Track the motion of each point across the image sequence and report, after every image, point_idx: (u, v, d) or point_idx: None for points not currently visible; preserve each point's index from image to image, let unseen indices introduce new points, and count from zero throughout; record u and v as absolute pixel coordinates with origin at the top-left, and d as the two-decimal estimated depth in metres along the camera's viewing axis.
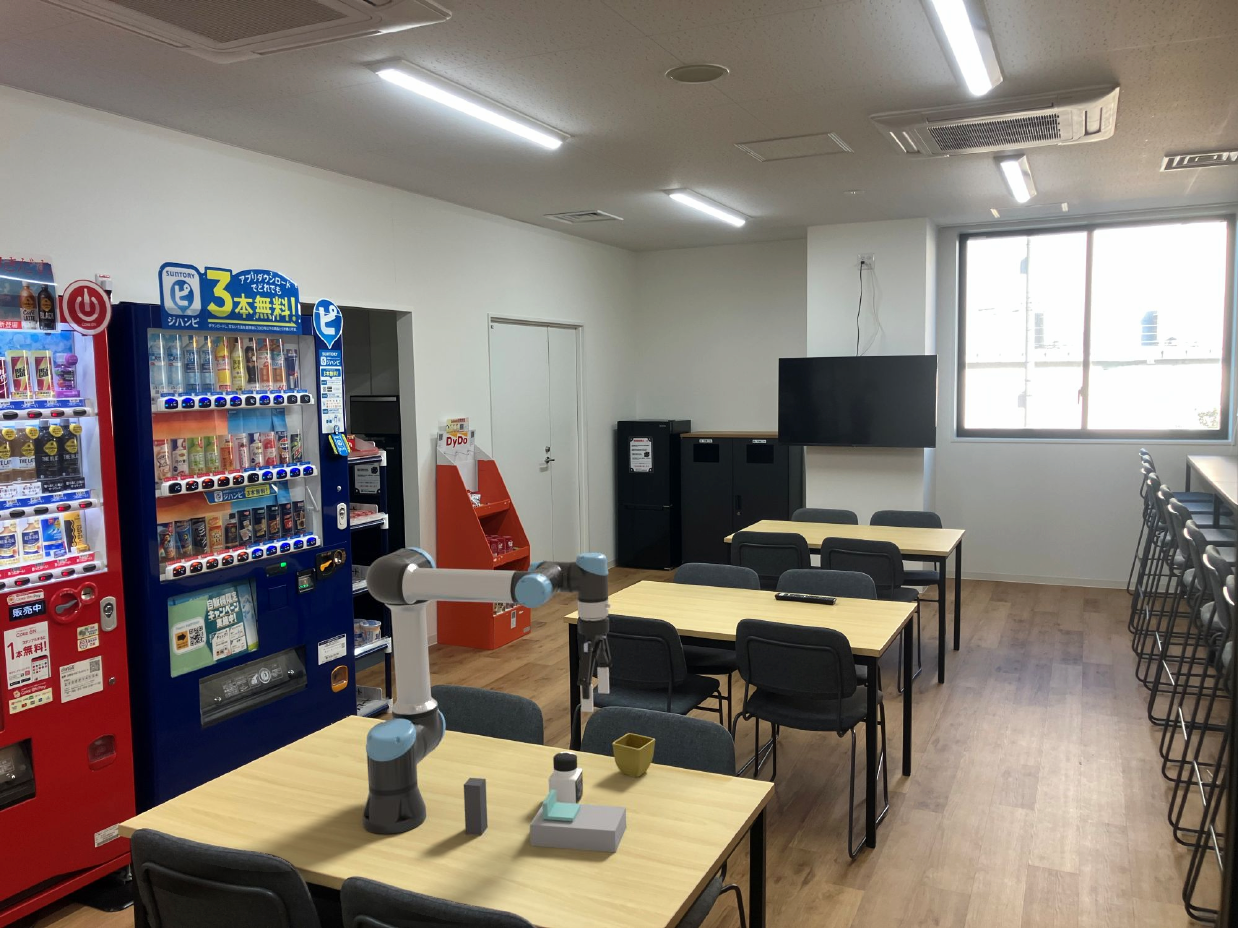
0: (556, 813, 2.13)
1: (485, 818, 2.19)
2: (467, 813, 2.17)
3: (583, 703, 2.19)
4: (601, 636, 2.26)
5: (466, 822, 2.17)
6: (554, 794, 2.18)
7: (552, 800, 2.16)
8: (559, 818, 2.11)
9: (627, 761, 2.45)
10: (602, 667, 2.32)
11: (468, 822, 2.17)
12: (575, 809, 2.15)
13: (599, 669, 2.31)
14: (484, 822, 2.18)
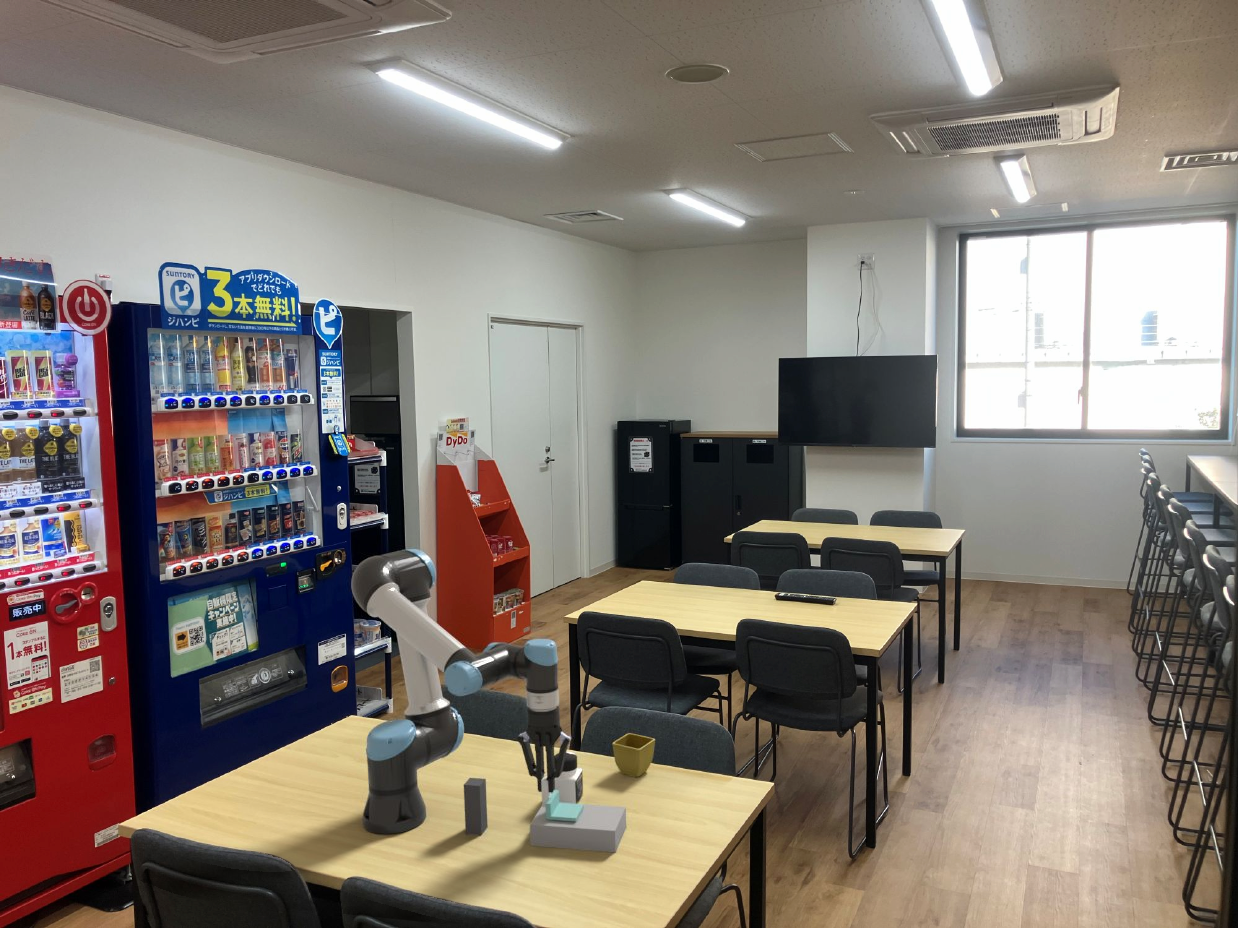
0: (559, 813, 2.13)
1: (485, 818, 2.19)
2: (467, 813, 2.17)
3: None
4: (554, 731, 2.12)
5: (466, 822, 2.17)
6: (557, 794, 2.17)
7: (555, 800, 2.16)
8: (562, 818, 2.11)
9: (627, 761, 2.45)
10: None
11: (468, 822, 2.17)
12: (578, 809, 2.15)
13: None
14: (484, 822, 2.18)
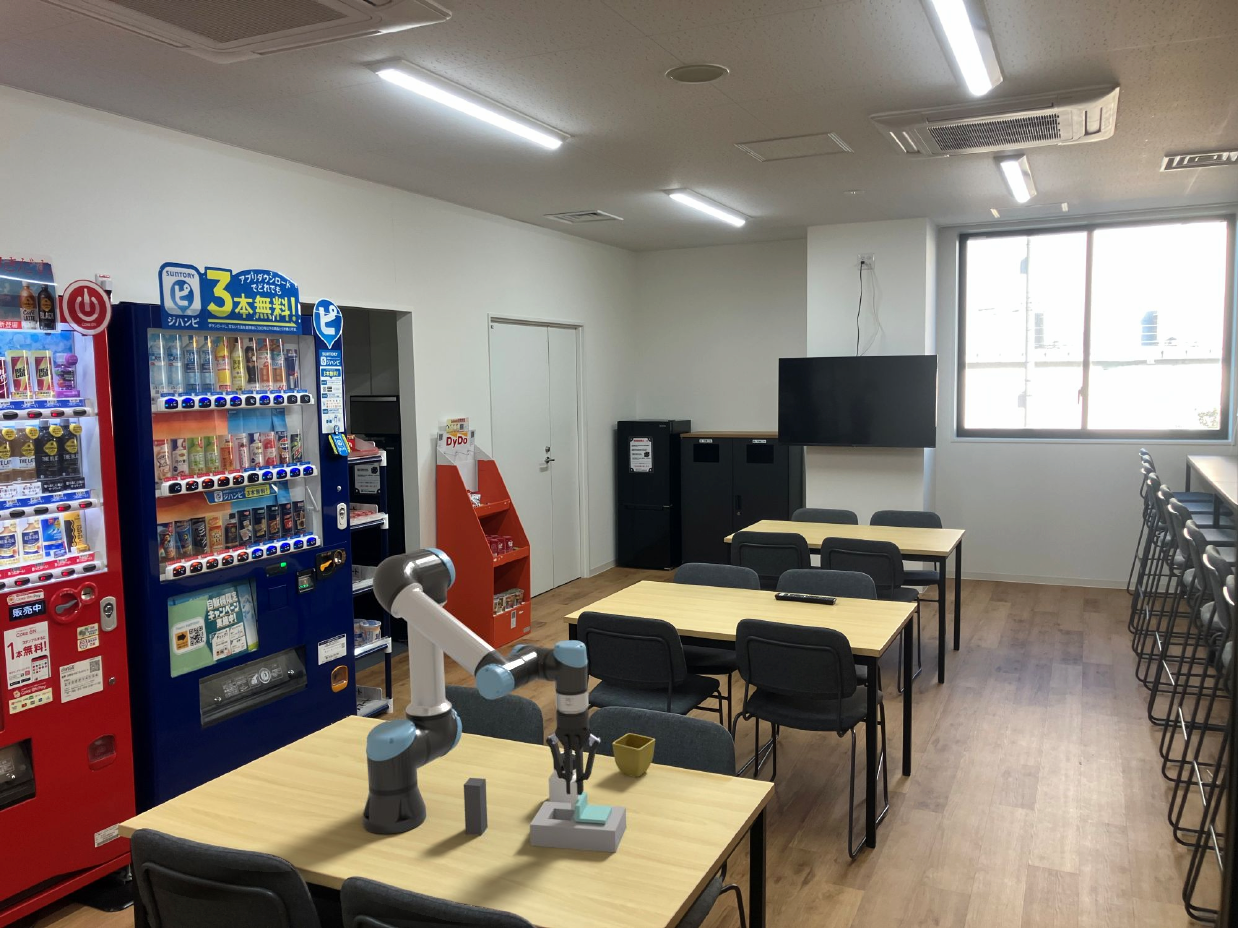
0: (588, 815, 2.12)
1: (485, 818, 2.19)
2: (467, 813, 2.17)
3: None
4: (583, 733, 2.11)
5: (466, 822, 2.17)
6: (585, 796, 2.16)
7: (584, 802, 2.14)
8: (591, 820, 2.10)
9: (627, 761, 2.45)
10: (576, 779, 2.14)
11: (468, 822, 2.17)
12: (607, 811, 2.13)
13: None
14: (484, 822, 2.18)
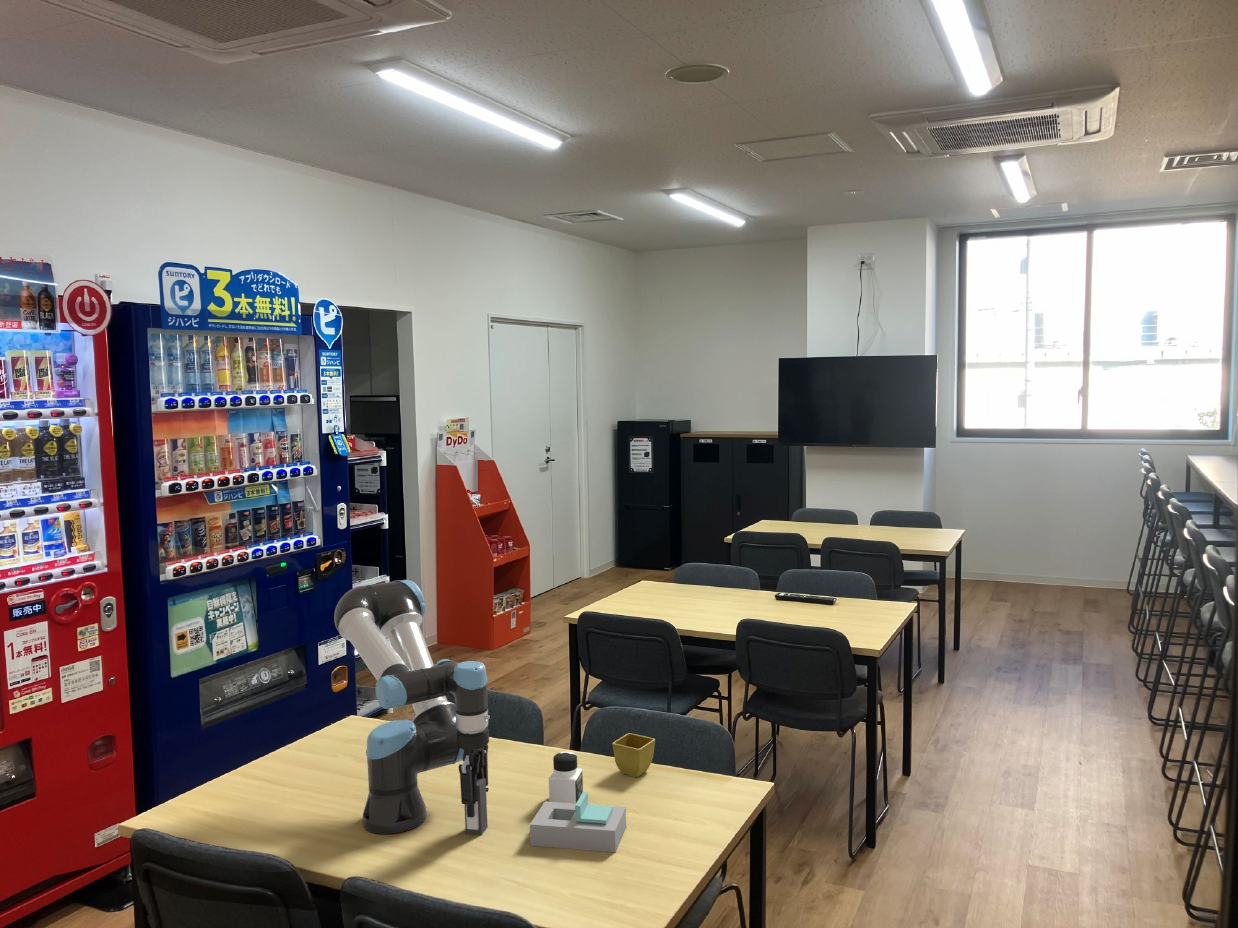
0: (589, 815, 2.11)
1: (485, 818, 2.19)
2: None
3: (468, 821, 2.16)
4: None
5: (465, 822, 2.17)
6: (586, 796, 2.16)
7: (585, 802, 2.14)
8: (592, 820, 2.10)
9: (627, 761, 2.45)
10: None
11: None
12: (608, 811, 2.13)
13: None
14: (484, 822, 2.18)
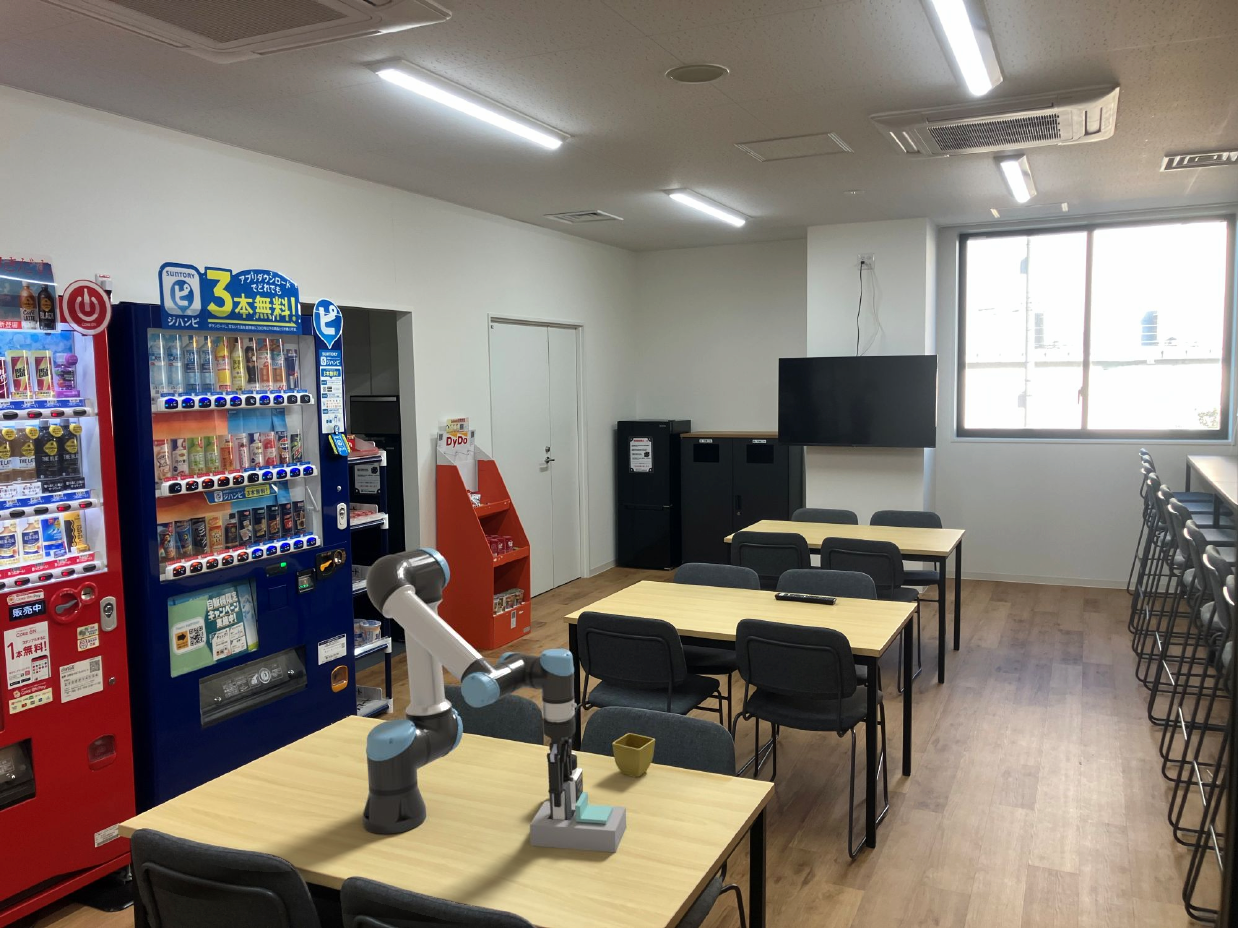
0: (589, 815, 2.11)
1: None
2: None
3: (555, 811, 2.12)
4: None
5: None
6: (586, 796, 2.16)
7: (585, 802, 2.14)
8: (592, 820, 2.10)
9: (627, 761, 2.45)
10: None
11: None
12: (608, 811, 2.13)
13: None
14: None
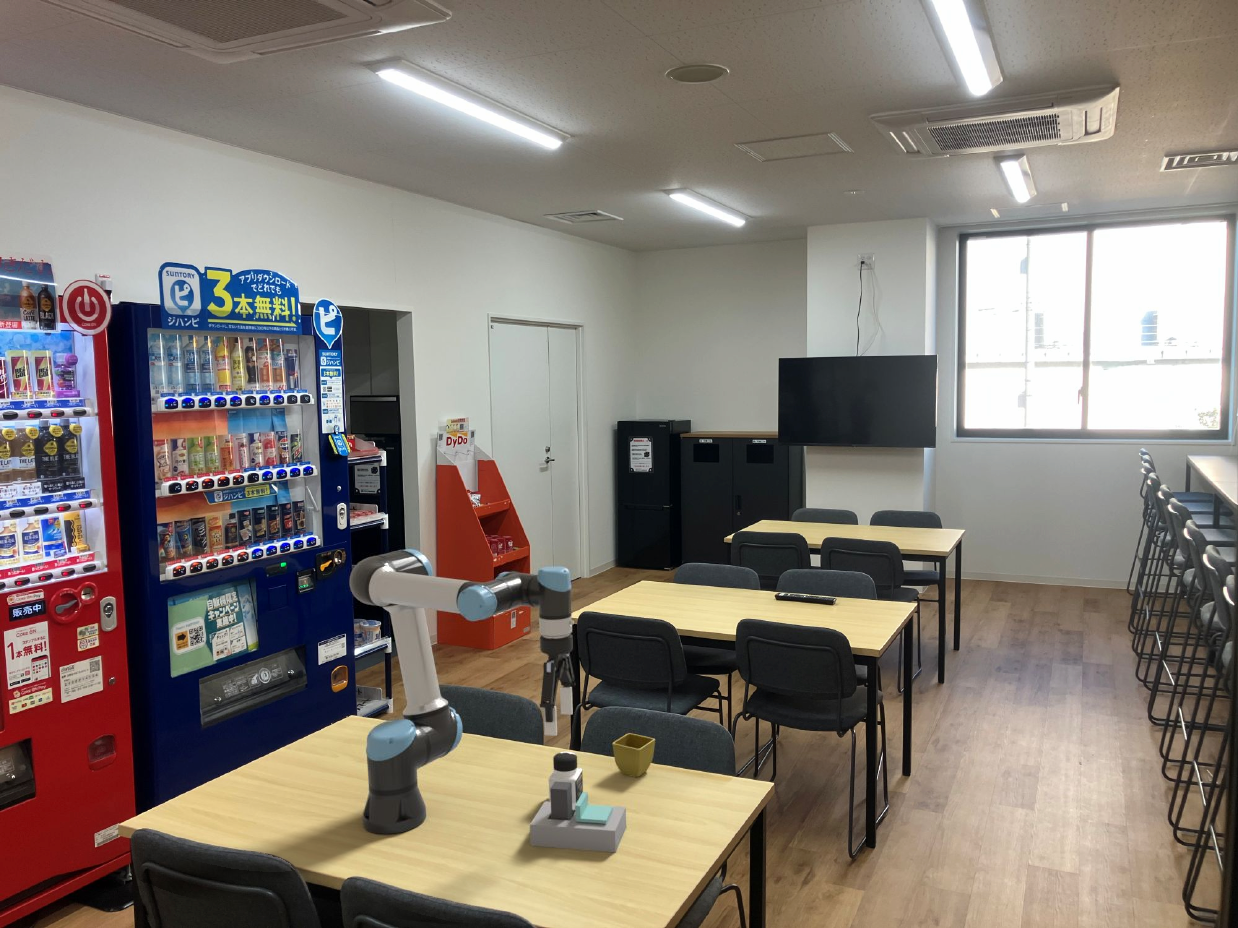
0: (589, 815, 2.11)
1: None
2: (554, 817, 2.13)
3: (546, 726, 2.06)
4: (564, 654, 2.14)
5: None
6: (586, 796, 2.16)
7: (585, 802, 2.14)
8: (592, 820, 2.10)
9: (627, 761, 2.45)
10: (565, 687, 2.19)
11: None
12: (608, 811, 2.13)
13: (562, 689, 2.19)
14: None
